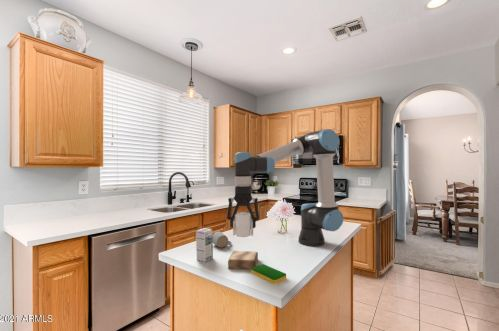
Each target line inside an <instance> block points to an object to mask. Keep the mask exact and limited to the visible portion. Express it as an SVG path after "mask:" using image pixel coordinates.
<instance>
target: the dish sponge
mask: <svg viewBox="0 0 499 331" xmlns="http://www.w3.org/2000/svg"><path fill="white" fill-rule="evenodd" d="M251 269H252V270H250V271H251V274H253V275H255V276H257V277H259V278H261V279H263V280H265V281H267V282H269V283H271V284H273V285H277V284H278V283H280V282H283V281H285V280H287V273H285V272H283V271H282V270H278V269H277V268H276V269H275V268H273V267H271V266H269V265H266V264H264V263H262V264H259V265H256V267H253V268H251Z"/></svg>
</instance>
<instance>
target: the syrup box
mask: <svg viewBox="0 0 499 331" xmlns="http://www.w3.org/2000/svg"><path fill="white" fill-rule="evenodd" d="M212 235H213V229H212V228H208V227H203V228H200V229H197V230H196V232H195V242H196V243H195V244H196V246H195V248H196V250H195V251H196V260H197V261H199V260H200V262H204V263H206V262H207V261H210V260H211V259H213V258H214V253H213V252H214V251H213V250H214V244H213V240H212Z"/></svg>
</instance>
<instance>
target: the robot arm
mask: <svg viewBox="0 0 499 331" xmlns="http://www.w3.org/2000/svg"><path fill="white" fill-rule="evenodd" d="M340 144H341V143H340V138H339V135H338V133H337V132H336V131H334V130H333V129H330V128H327V129H320V130H316V131H311V132H308V133H306V134H303V135H302V136H299V137H297V138H295V139H293V140H292V142H290V143H286V144H283V145H281V146H278V147H276V148H273V149H270V150H268V151H265V152H262V153H260V154H257V155H254V156H252V153H251V152H249V151H248V152H247V151H246V152H245V151H244V152H243V151H240V152H236V153H235V155H234V185H235V186H234V197H229V198H228V199H227V200H228V209H227V214H226V215H227V216H226V220H229V221H230V228H232V232H233V233H232V235H233V236H236V229H235V214H236V213H238V211H239V208H240V207H242V206H243V207H246V208H247V210H248V213H250V214H251V235H250V236H251V237H253V236H254V229H255V228H256V226H257V223H256V222H257V221H258V220H260V211H259V204H258V200H259V198H258V197H253V196H252V186H251V185H252V173H253V174H254V173H258V174H259V173H273V171H274V170H275V168H276V167H275V166H276V164H277V163H278V162H281V161H284V160H286V159H289V158H292V157H294V156H296V155H298V156H301V155H304V154H308V153H309V154H310V153H312V156H313V157H314V158H315V160H316V161H315V162H316V164H315V165H316V179H317V180H316V182H317V201H318V202H313V203H303V204H302V205H301V207H300V215H301V216H300V220H301V221H300V222H301V223H300V224H301V225H300V226H301V228H300V232H299V235H298V243H299V244H301V245H304V246H309V247H319V246H323V245H325V244H326V243H325V242H326V241H325V240H326V239H325V236H324V233H323V230H325V231H327V232H328V231H329V232H336V231H338V230H339V229H340V228H341V227H342V226H343V222H344V215H343V212H342V211H340V210H339V204H338V203H336V202H335V201H336V200H335V199H336V198H335V183H334V182H335V180H334V179H335V178H334V159H333V157H335V155H336V150H337V149H339V148H338V147H340ZM234 201H235V202H236V205H235V208H234V210H233V204H234V203H233V202H234ZM251 201H252V202H253V205H254V211H253V208H252V206H251V204H250V203H251ZM232 210H233V211H232ZM232 212H233V213H232ZM254 212H255V214H254Z"/></svg>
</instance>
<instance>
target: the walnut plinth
mask: <svg viewBox="0 0 499 331" xmlns="http://www.w3.org/2000/svg"><path fill="white" fill-rule="evenodd" d="M258 260H259V253H258V251H249V250H247V251H246V250H245V251H244V250H233V251H232V253H231V255H230V257H229V258H228V261H227V262H228V263H227V266H228V267H227V269H229V270H230V269H231V270H247V271H249V270H250V271H251V270H252V269H251V268H253V267H256V266H258Z"/></svg>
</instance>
